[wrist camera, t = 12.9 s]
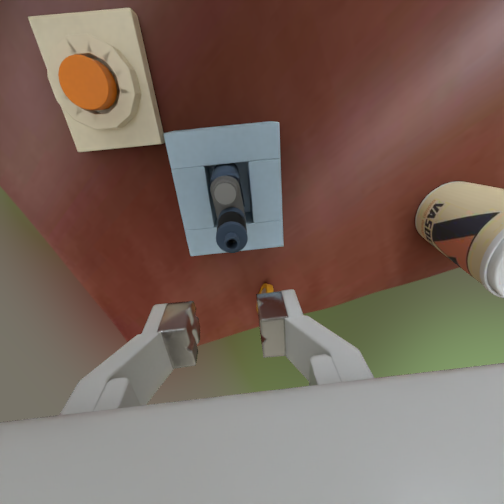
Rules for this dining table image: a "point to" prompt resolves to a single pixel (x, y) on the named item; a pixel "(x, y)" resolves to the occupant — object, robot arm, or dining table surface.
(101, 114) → the button box
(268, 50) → the dining table surface
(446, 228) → the coffee cup
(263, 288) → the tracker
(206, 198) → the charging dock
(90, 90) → the orange button
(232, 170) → the vaping device
